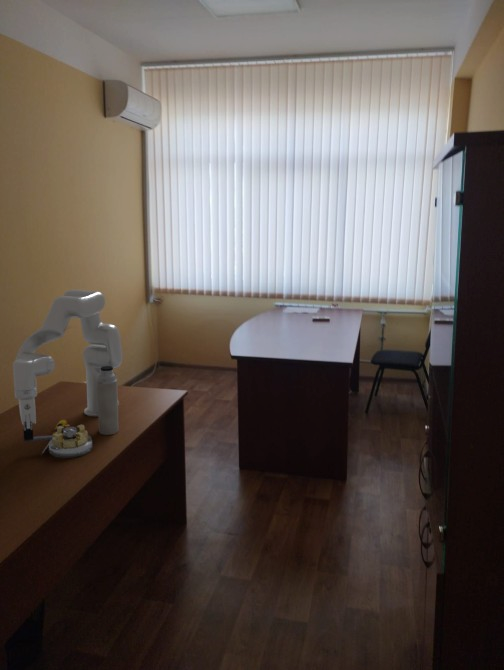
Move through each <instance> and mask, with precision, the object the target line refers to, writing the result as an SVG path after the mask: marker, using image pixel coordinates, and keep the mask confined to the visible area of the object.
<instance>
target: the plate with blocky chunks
mask: <svg viewBox="0 0 504 670" xmlns="http://www.w3.org/2000/svg"><path fill="white" fill-rule="evenodd" d="M67 424H68V423H67ZM76 433H77V427H76V426H70V423H69V424H68V425H65V429H63V436H64V438H63V439H65V440H67V439H75V438H76ZM48 443H49V446H48V452H49V454H50V455H51V456H52V457H55V458H59V459H70V458H77V457H81V456H84V455H86V454H88V453H89V452H91V450H93V438H92V437H91V435H89V434H88V442H87V443H85V444H83V445H81V446H79V447H77V446H76V447H74V448H59V447H57V446H54V445H53V444H52V440H49V442H48Z"/></svg>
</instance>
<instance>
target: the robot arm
mask: <svg viewBox="0 0 504 670" xmlns="http://www.w3.org/2000/svg"><path fill="white" fill-rule="evenodd" d="M105 305H106V297H105V296H104V294H103V293H102V292H101V291H96V290H95V291H94V290H84V289H68V290H67V291H65V292H64V293H63V295H60V296H58V297H56V298H55V299H54V300H53V302H52V304H51V306H50V307H49V310H48V313H47V314H46V317H45V319H44V321H43V323H42V325H41V327H40V328H38V329H37V330H36V331H34V332H33V333H32V334H30V335H29V336H28V337H27V338H26V339H25V340H24V341H23V342H22V343H21V345H20V347H19V350H18V352H17V354H16V356H15V357H16V358H15V360H14V361H13V363H12V371H13V372H12V373H13V387H14V398H15V399H17V400H18V408H19V415H20V420H21V424H22V426H23V429H22V431H23V441H24V440H25V441H26V440H33V437H34V429H33V424H34V425H36V424H37V415H36V414H37V413H36V401H35V400H36V399H35V398H36V397H37V396H38V389H37V388H38V387H37V385H38V384H37V377H40V376H45V375H49V374H50V373H52V372H53V370H54V369H55V366H56V363H55V359H54V358H53V357H52V356H51V355H48V354H42V353H35V352H36V351H37V350H38V348H40V347H41V346H43V345H45V344H48V343H50V342H53V341H56V340H58V339H60V338H62V337H64V335H65V332H66V330H67V328H68V326H69V323H70V321H71V319H79V321H80V326H81V332H82V336H83V340H84V342H86V343H88V344H89V345H87V346H86V347H85V348H84V349H83V351H82V358H83V359H82V360H83V363H84V368H85V376H86V379H85V381H86V402H87V404H86V405H87V407H85V408H84V410H83V413H84V415H86V416H88V417H98V389H97V380H99V375H100V374H101V367H103V366H112V367H113V369H116V368H119V367H120V366H121V365H122V362H123V357H124V356H123V348H122V341H121V339H122V338H121V333H120V331H119V328H118V327H117V326H116V325H114V324H111V323H103V322H102V319H101V314H100V312H101V311H103V309H104V307H105ZM119 405H120V401H119V400H118V406H119Z"/></svg>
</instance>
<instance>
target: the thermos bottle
mask: <svg viewBox="0 0 504 670" xmlns="http://www.w3.org/2000/svg"><path fill="white" fill-rule="evenodd" d="M113 369H114V368H113V367H112V366H103V367H101V374H100V375H99V380H97V389H98V416H97V417H98V432H99V434H101V435H107V436H110V435H114V434H116V433H117V434H118V432H119V425H120V424H119V405H118V401H119V400H118V399H119V397H118V395H119V394H118V391H119V390H118V379H117V378H116V377H117V376H116V373H114V370H113Z"/></svg>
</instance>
